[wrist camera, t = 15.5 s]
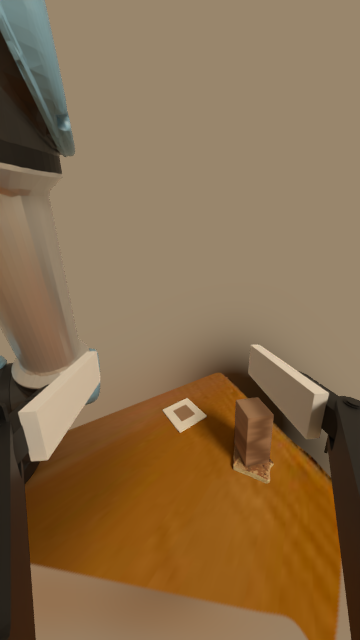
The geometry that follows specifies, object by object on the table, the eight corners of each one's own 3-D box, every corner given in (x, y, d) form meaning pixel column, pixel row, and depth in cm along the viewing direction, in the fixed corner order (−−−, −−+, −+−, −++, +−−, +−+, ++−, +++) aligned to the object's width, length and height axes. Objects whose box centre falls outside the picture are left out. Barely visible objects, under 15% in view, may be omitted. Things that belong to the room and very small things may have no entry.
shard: (237, 429, 44) (237, 423, 43) (270, 440, 40) (271, 434, 40) (231, 472, 34) (231, 465, 34) (274, 490, 31) (275, 483, 30)
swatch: (162, 410, 49) (162, 409, 49) (187, 398, 54) (187, 397, 54) (179, 433, 42) (179, 431, 42) (206, 416, 47) (206, 415, 47)
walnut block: (245, 466, 33) (248, 418, 31) (234, 443, 38) (235, 400, 36) (269, 462, 34) (273, 414, 32) (255, 439, 39) (258, 397, 36)
